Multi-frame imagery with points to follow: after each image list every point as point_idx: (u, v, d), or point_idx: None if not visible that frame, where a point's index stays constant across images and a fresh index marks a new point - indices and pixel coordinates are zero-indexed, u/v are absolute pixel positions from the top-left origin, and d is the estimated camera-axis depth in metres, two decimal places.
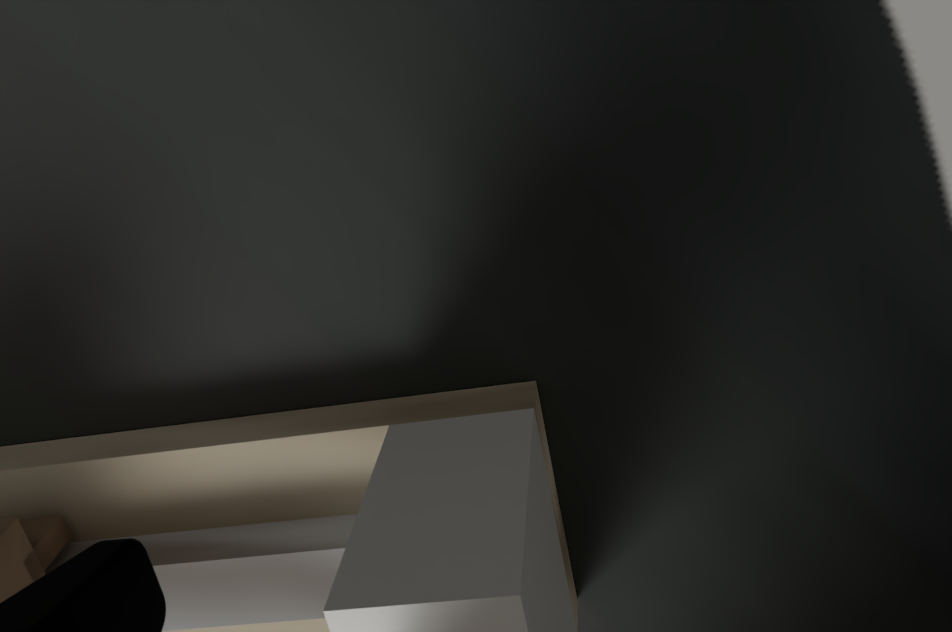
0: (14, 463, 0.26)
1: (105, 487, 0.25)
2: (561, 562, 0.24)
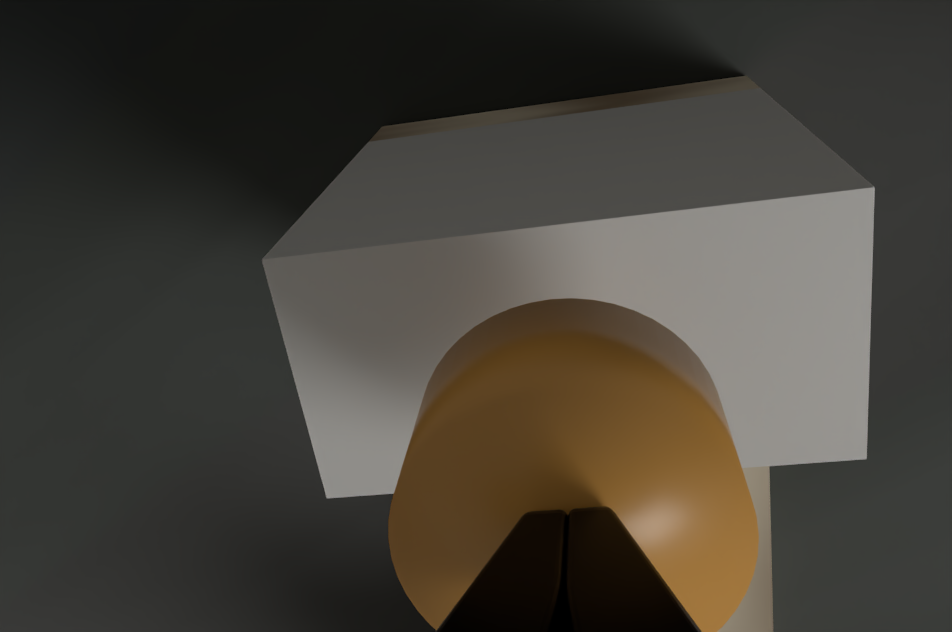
0: None
1: None
2: (599, 114, 0.17)
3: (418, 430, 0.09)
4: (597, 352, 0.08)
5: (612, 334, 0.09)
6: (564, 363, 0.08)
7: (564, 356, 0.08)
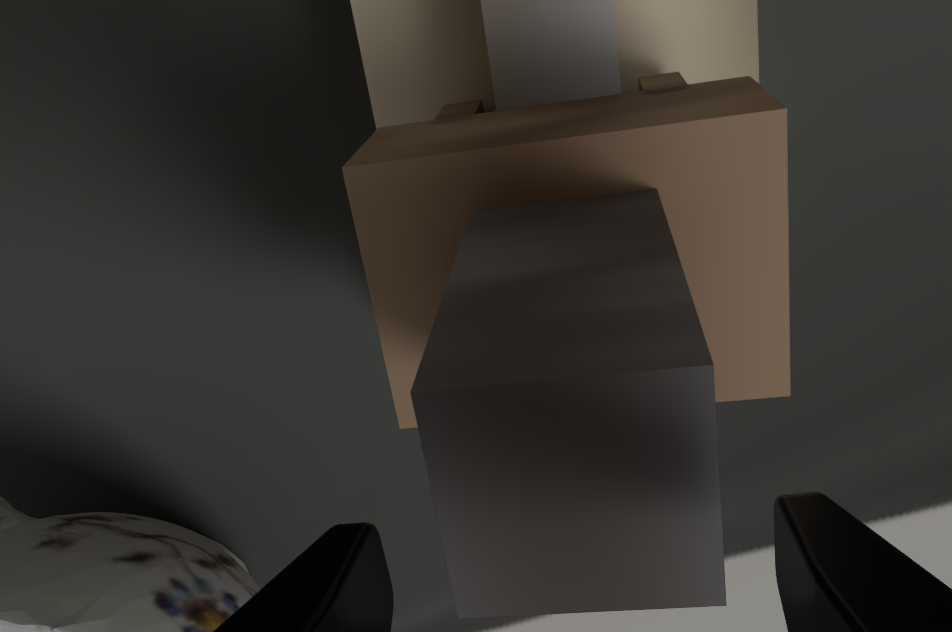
0: None
1: (403, 31, 0.18)
2: None
3: None
4: None
5: None
6: None
7: None
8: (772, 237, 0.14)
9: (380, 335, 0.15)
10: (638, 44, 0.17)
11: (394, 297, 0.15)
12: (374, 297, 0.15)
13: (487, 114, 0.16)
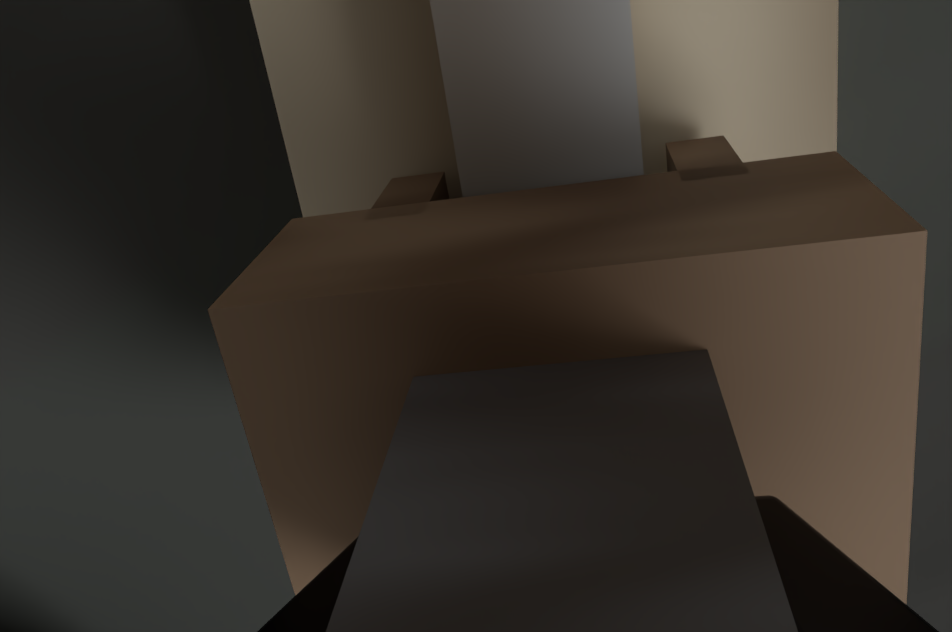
0: None
1: (333, 76, 0.13)
2: None
3: None
4: None
5: None
6: None
7: None
8: (890, 424, 0.09)
9: (282, 545, 0.10)
10: (666, 95, 0.12)
11: (300, 494, 0.10)
12: (270, 494, 0.10)
13: (447, 203, 0.11)
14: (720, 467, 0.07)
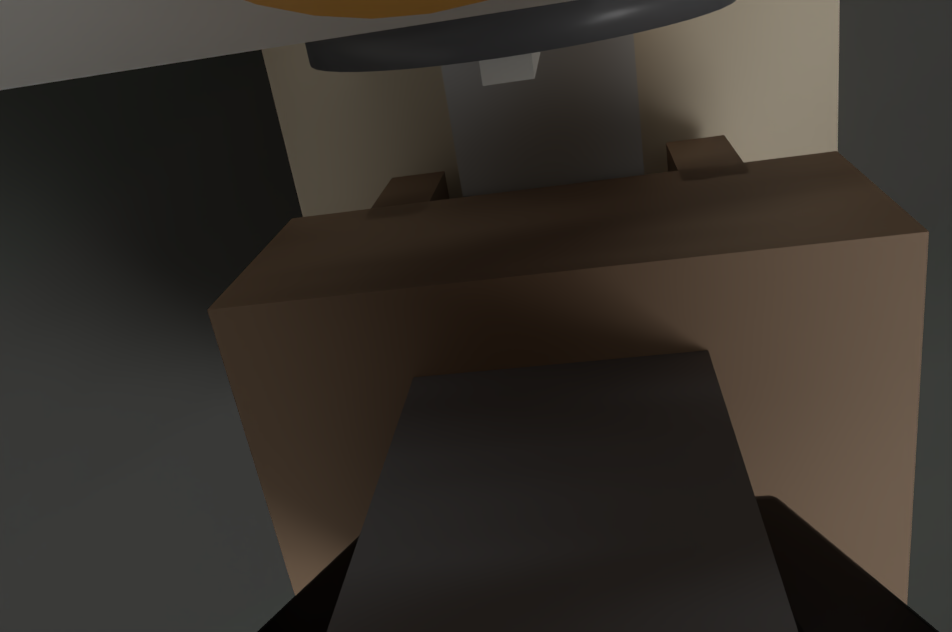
0: None
1: None
2: None
3: None
4: None
5: None
6: None
7: None
8: (891, 425, 0.09)
9: (281, 546, 0.10)
10: None
11: (300, 495, 0.10)
12: (269, 494, 0.10)
13: (447, 203, 0.11)
14: (721, 469, 0.07)
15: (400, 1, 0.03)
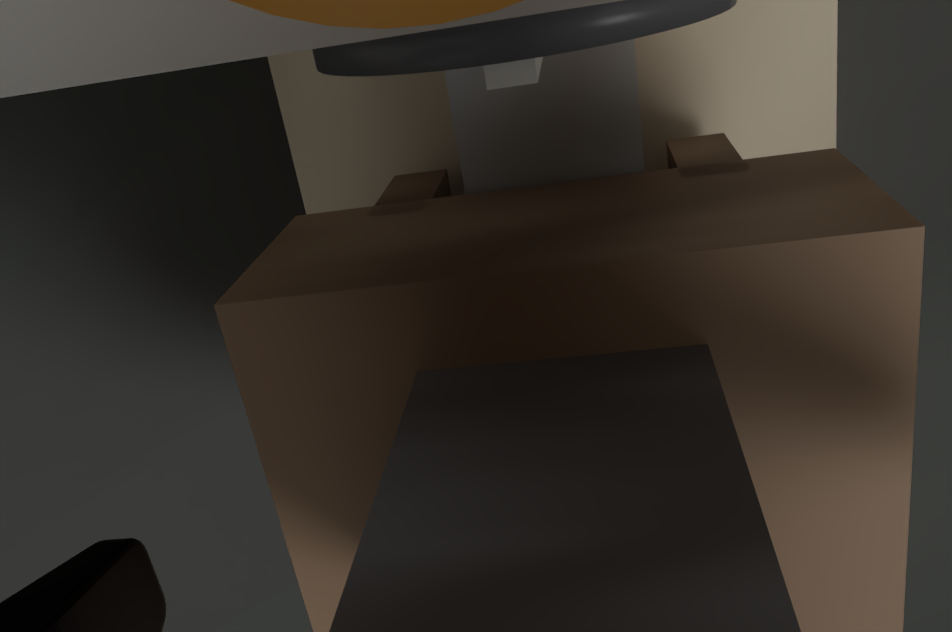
0: None
1: None
2: None
3: None
4: None
5: None
6: None
7: None
8: (888, 418, 0.09)
9: (287, 539, 0.10)
10: None
11: (305, 488, 0.10)
12: (275, 488, 0.10)
13: (450, 200, 0.11)
14: (720, 459, 0.07)
15: (410, 12, 0.04)
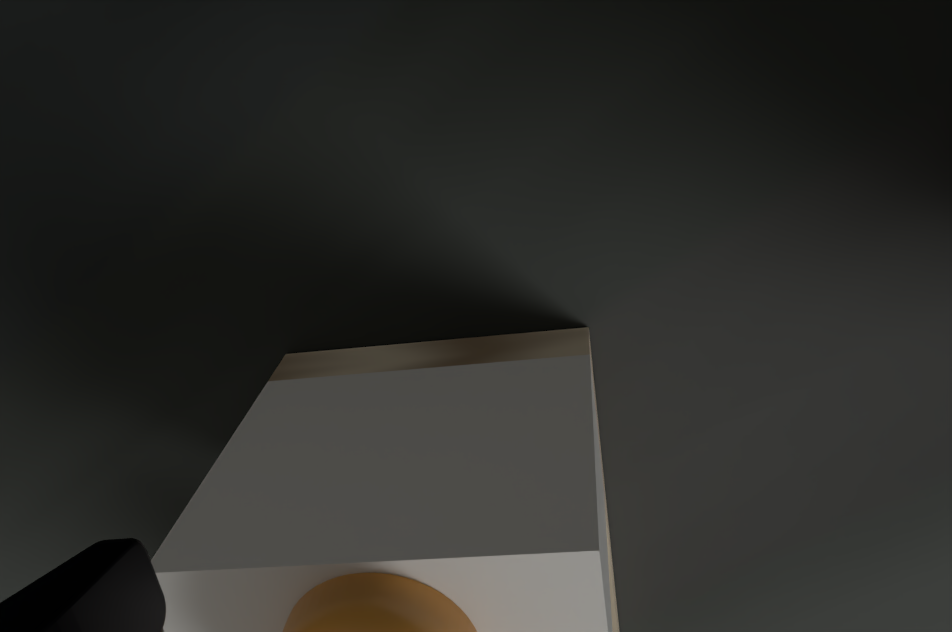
0: None
1: None
2: (455, 374, 0.20)
3: None
4: (375, 630, 0.13)
5: (391, 611, 0.14)
6: None
7: None
8: None
9: None
10: None
11: None
12: None
13: None
14: None
15: None
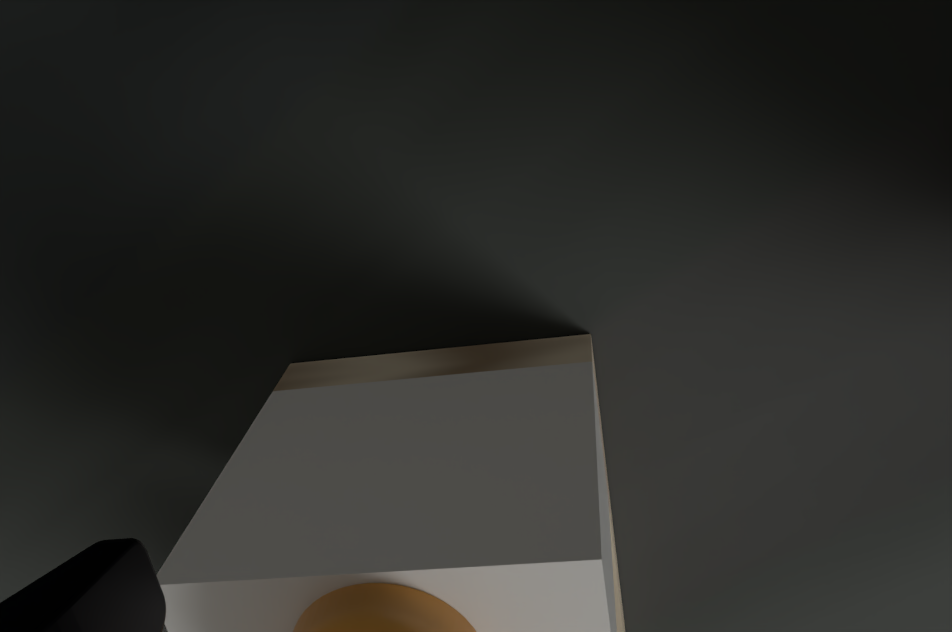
0: None
1: None
2: (458, 382, 0.21)
3: None
4: None
5: (396, 621, 0.14)
6: None
7: None
8: None
9: None
10: None
11: None
12: None
13: None
14: None
15: None
